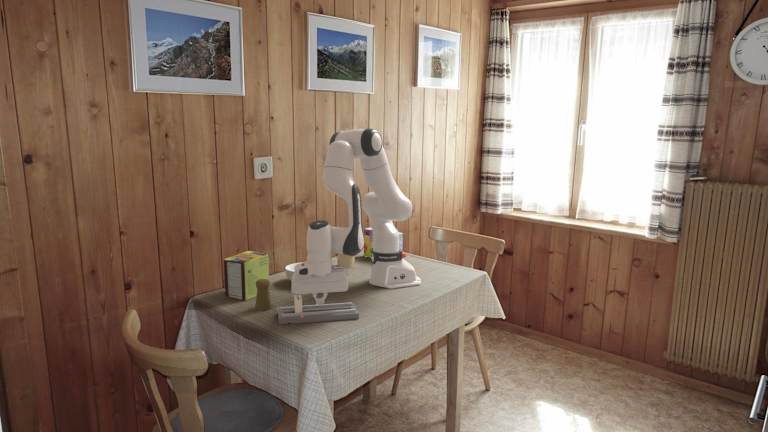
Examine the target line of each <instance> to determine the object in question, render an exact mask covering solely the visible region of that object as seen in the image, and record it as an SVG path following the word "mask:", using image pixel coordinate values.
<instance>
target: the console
mask: <svg viewBox="0 0 768 432" xmlns="http://www.w3.org/2000/svg"><path fill="white" fill-rule="evenodd" d="M301 315H303V318H301ZM277 318H278V325H289V324H288V323H291V324H292V325H293V324H303V323H304V324H305V323H306V324H307V323H317V322H330V321H331V322H333V321H345V320H347V321H348V320H359V319H360V312H359V311H358V309H357V306H356V305H355V303H354V302H352V301H351V302H337V303H324V304H320V305H316V304H310V305H309V304H308V305H302V313H295V309H294V305H293V306H290V305H289V306H280V307H277ZM291 324H290V325H291Z"/></svg>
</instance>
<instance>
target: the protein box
mask: <svg viewBox="0 0 768 432" xmlns="http://www.w3.org/2000/svg"><path fill="white" fill-rule="evenodd" d="M269 260H270V259H269V253H267V252H259V251H254V250H253V251H252V250H246V251H244V252H240V253H238V254H236V255H232V256H230V257H227V258H224V259H223V276H224V293H225V295H224V296H225V298H229V299H233V300H234V299H235V300H239V301H249V300H251V299H253V298H256V296H257V288H256V281H257V280H259V279H268V280H269V281H270V269H269V268H270V265H269V262H270V261H269Z"/></svg>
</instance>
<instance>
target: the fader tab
mask: <svg viewBox="0 0 768 432" xmlns="http://www.w3.org/2000/svg"><path fill="white" fill-rule="evenodd" d="M293 300H294V301H293V304H294V305H293V306H294V309H295V313H302V306H303V298H302V294H297V295H293Z"/></svg>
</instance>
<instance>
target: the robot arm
mask: <svg viewBox="0 0 768 432" xmlns="http://www.w3.org/2000/svg"><path fill="white" fill-rule="evenodd" d="M358 158H359V162H360V166H361V169H362V173H363V177H364V179H365V183H366V185H367V187H368V188H369V189H370V190H372V191H371V192H370V191H369V192H367V193H366V194H364V196H363V198H362V195H361V191H360V188H359V186H358V185H357V184H356V183H355V180H354V168H355V166H354V165H355V159H358ZM322 183H323V185H324V186H325V188H326V189H327V190H328V191H329V192H330V193H332V194H334V195H336V196H337V197H340V198H342V199H343V200H344V201H346V204H347V208H348V227H340V226H332V225H331V224H330V222H329V221H326V220H323V219H321V220H315V221H312V222H310V223H309V224H308V226H307V231H306V250H307V256H306V260H305V261H303V263H301V262H299V263H300V264H297V265H295V268H294V271H295V273H294V274H293V276H292V281H291V284H290V285H291V287H290V290H291V294H292V295H293V296H296V295H309V294H312V297H313V298H314V300H315V305H320V304H325V300H326V298H327V296H328V293H338V292H339V293H340V292H347V291H348V290H349V281H348V277H349V274H350V272H349V271H350V270H349V269H348V268H347V267H344V266H338V265H333V257H332V254H336V255H337V254H344V255H349V256H355V257H356V256H357V255H359V254H360V253H361V252H362V251H364V228H363V217H362V215H363V214H362V213H363V212H362V211H364V212H365V213H366V215H367V217H368V220H369V222H370V225H371V228H372V231H373V250H372V259H371V262H372V265H371V271H370V277H369V282H368V283H369V284H370V285H372V286H376V287H382V288H386V289H390V290H391V289H397V288H405V287H413V286H419V285H420V286H421V284H422V279H421V278H420V277H419V276H418V275H417V273H416V270H415V268H414V266H413V265H412V264H411V263H410V262H408V261H407V260H406V259H405V258H406V257H407V254H406V253H405V252H404V251H403V250H402V251H400V250H399V230H398V229H397V227H395V225H394V223H393V222H404V221H406V220H408V219H409V218H410V217H411V216H412V213H413V203H412V202H411V200H410V199H409V198H408V197H407V196H406V195H405V194H404V193H403V192H402V190H401V189H400V188H399V186H398V184H397V182H396V180H395V179H394V177H393V173H392V170H391V166H390V163H389V160H388V156H387V153H386V151H385V149H384V146H383V137H382V135H381V134H380V133H379V131H378V130H377V129H374V128H369V127H368V128H352V129H349V130H340V131H337V132H334V133H333V134H332V135H331V137H330V139H329V146H328V149H327V152H326V155H325V160H324V164H323V171H322ZM318 294H322V295H323V296H322V297H321V298H318V297H317V296H318Z"/></svg>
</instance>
